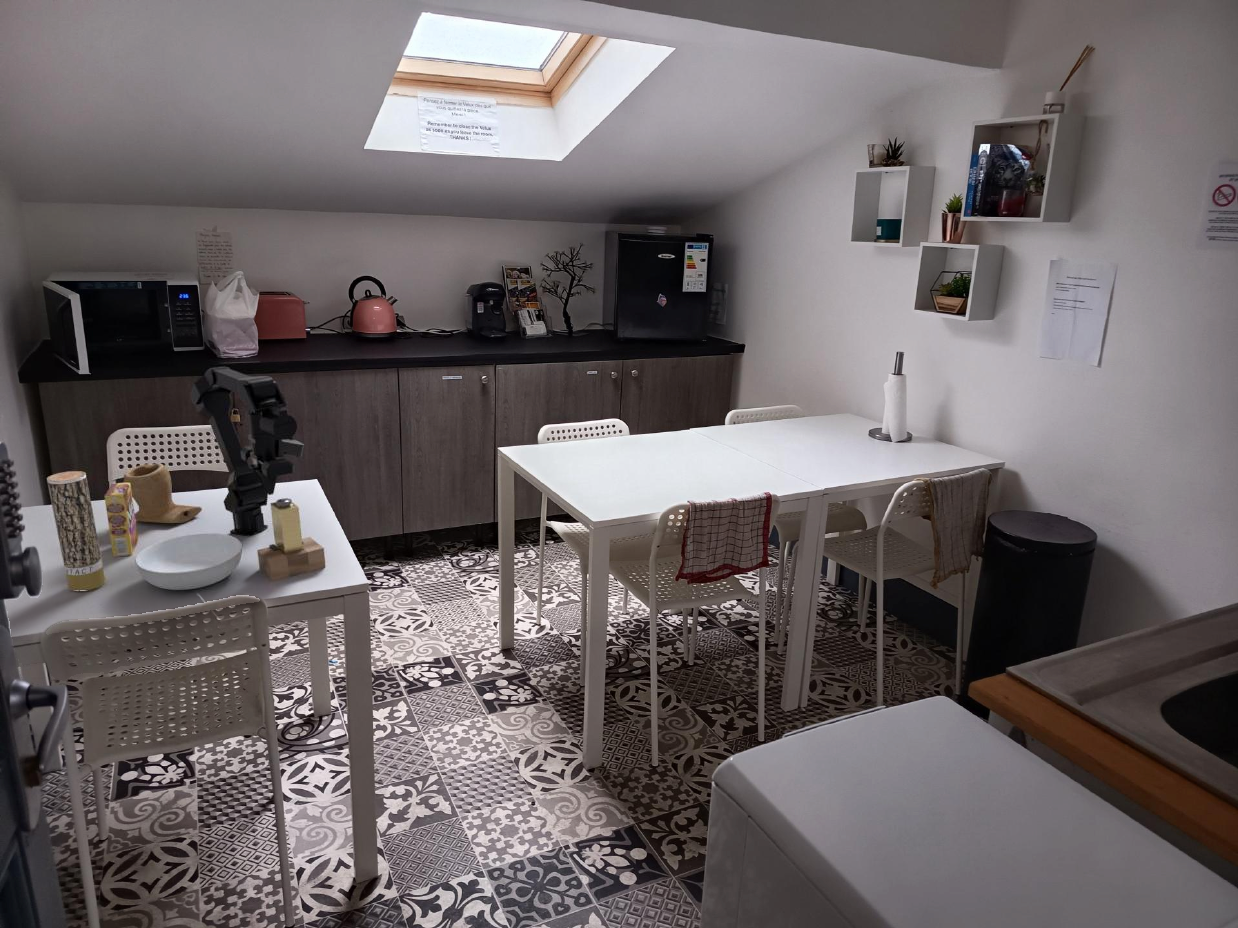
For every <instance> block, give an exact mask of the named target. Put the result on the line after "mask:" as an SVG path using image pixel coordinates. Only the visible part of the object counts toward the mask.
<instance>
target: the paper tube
mask: <svg viewBox="0 0 1238 928" xmlns="http://www.w3.org/2000/svg"><path fill="white" fill-rule="evenodd" d="M86 474H87V473H86V472H85V471H81V470H80V471H78V470H71V471H64V472H58V473H55V474H52V475H50V476H48V477H47V478H46V481H47V487H48V492H49V496H50V502H51V503H50V504H51V506H52V507H51V508H52V511H53V517H54V522H55V526H56V531H57V532H56V533H57V537H58V541H59V546H60V552H61V556H62V560H63V561H62V562H63V566H64V571H65V574H66V575H65V576H66V581H67V587H68V588H69V590H70V591H72V590H79V591H80V590H90V591H92V590H91V589H93V590H96V589H98V588H100V587H102V586H103V585H104V584H105V582H106V577H105V571H104V567H103V560H102V554H101V548H100V544H99V537H98V532H97V527H96V522H95V517H94V512H93V507H92V506H93V505H92V501H91V500H92V499H91V495H90V489H89V484H88V483H89V482H88V479H87V475H86ZM101 585H102V586H101ZM97 587H98V588H97ZM95 588H96V589H95Z"/></svg>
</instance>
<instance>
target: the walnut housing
mask: <svg viewBox="0 0 1238 928" xmlns="http://www.w3.org/2000/svg"><path fill="white" fill-rule="evenodd" d="M302 545H303V550H302V551H298V552H294V553H290V554H286V555H284V554H283V553H281V552H280V551H279V548H278V547H277V546H276V545H275V543H273V544H269V545H268V547H263V548H261V549H257V559H258V566H259V570H260V571H261V572H262V573H263V575H265V576H266V578H268V579H269V580H270V581H271V582H277V581H280V580H284V579H287V578H291V577H294V576H298V575H302V574H306V573H308V572H313V571H316V570H320V569H323V568H326V566H327V565H326V558H325V548H324V547H323V546H322V545H320V544H319V543H318V542H317V541H316V540H315V539H313V538H312V537H311V536H310V537H304V538H302Z"/></svg>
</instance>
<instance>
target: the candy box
mask: <svg viewBox="0 0 1238 928" xmlns="http://www.w3.org/2000/svg"><path fill="white" fill-rule="evenodd" d="M104 502H105V508H106V516H107V523H108V529H109V536H110V543H111V544H110V545H111V551H112V556H116V557H126V556H132V555H133V553H134V551H135V549H136V547H137V544H138V543H139V535H138V534H139V533H138V529H137V521H136V520H135V513H136V512H135V508H134V499H133V497H132V492H131V485H130V483H124V482H118V483H112V484H111V485H110V486H109V488H108V490H107V491H106V493H105V494H104Z"/></svg>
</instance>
